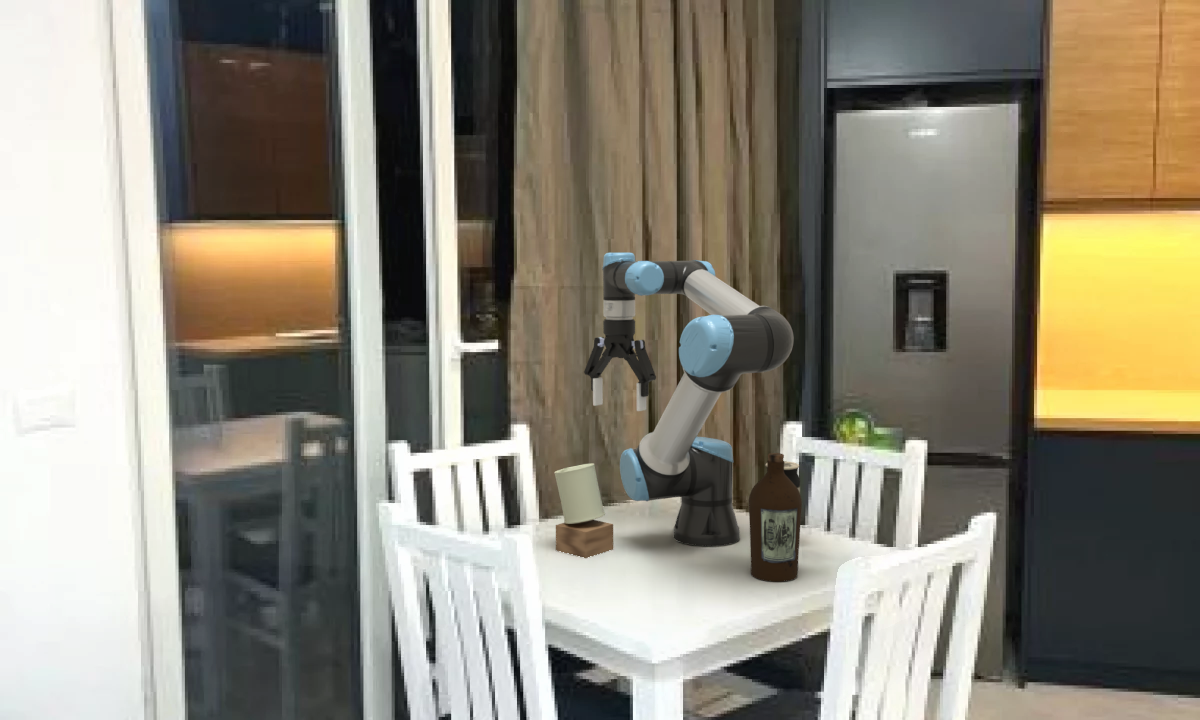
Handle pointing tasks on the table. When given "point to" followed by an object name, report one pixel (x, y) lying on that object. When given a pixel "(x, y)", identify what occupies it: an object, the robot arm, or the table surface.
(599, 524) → the walnut block
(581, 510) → the can
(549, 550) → the table surface
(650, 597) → the table surface
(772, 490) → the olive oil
